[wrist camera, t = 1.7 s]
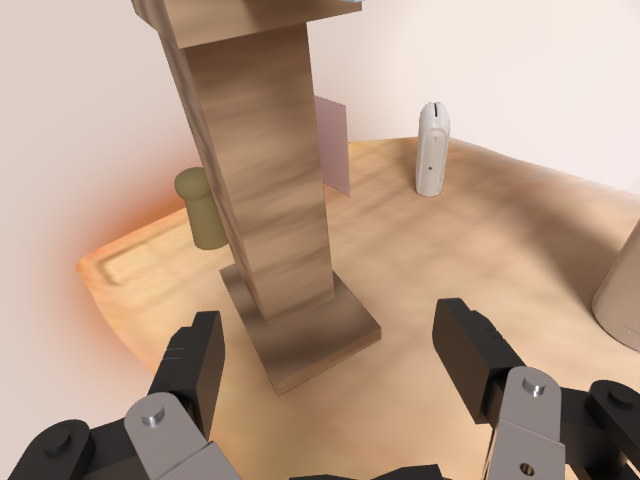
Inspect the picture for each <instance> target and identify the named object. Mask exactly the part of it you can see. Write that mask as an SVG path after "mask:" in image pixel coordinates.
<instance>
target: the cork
mask: <svg viewBox="0 0 640 480" xmlns="http://www.w3.org/2000/svg"><path fill="white" fill-rule="evenodd" d="M175 189H176V192H177V193H178V195H179V196H180V197H181V198H182V199H184V200H185V204H186V208H187V213H188V217H189V221H190V225H191V230H192V234H193V238H194V242H195V245H196V246H197V247H198V248H200V249H202V250H213V249H217V248H220V247H223V246H224V245H226V244H228V243H229V242H228V239H227V236H226V233H225V230H224V227H223V224H222V221H221V218H220V215H219V212H218V209H217V206H216V203H215V200H214V197H213V194H212V191H211V188H210V185H209V182H208V179H207V176H206V174H205V171H204V168H201V167H194V168H190V169H186V170H184V171H182V172H181V173H179V174H178V176H177V177H176V179H175Z"/></svg>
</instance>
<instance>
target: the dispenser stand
mask: <svg viewBox="0 0 640 480" xmlns="http://www.w3.org/2000/svg"><path fill="white" fill-rule="evenodd" d="M131 1H132V4H133V7H134V9H135V12H136V14H137V15H138V16H139V17H140V18H142V19H143V20H144V21H145V22H147V23H148V24H149V25H150V26H151V27H153V28H154V29H155V30H156V31H158V34H159V37H160V40H161V43H162V46H163V49H164V52H165V55H166V58H167V61H168V63H169V67H170V70H171V73H172V76H173V78H174V82H175V85H176V87H177V90H178V93H179V96H180V99H181V102H182V105H183V108H184V111H185V114H186V117H187V120H188V123H189V126H190V129H191V132H192V135H193V138H194V141H195V144H196V147H197V149H198V153H199V155H200V159H201V161H202V165H203V168H204V171H205V174H206V176H207V179H208V182H209V185H210V188H211V191H212V194H213V197H214V200H215V203H216V206H217V209H218V212H219V215H220V218H221V221H222V224H223V227H224V230H225V233H226V236H227V239H228V242H229V245H230V248H231V251H232V254H233V257H234V260H235V262H236V264H233V265H231V266H228V267H226V268H224V269H221V270H219V271H220V274H221V276H222V279H223V281H224V283H225V286H226V288H227V290H228V292H229V294H230V296H231V298H232V300H233V302H234V305H235V307H236V309H237V311H238V313H239V315H240V317H241V319H242V321H243V324H244V326H245V328H246V330H247V332H248V334H249V336H250V338H251V340H252V343H253V345H254V347H255V349H256V351H257V353H258V355H259V357H260V359H261V361H262V364H263V366H264V368H265V370H266V372H267V374H268V376H269V378H270V380H271V383H272V385H273V387H274V389H275V391H276V393H277V395H278V396H279V395H281V394H282V393H284V392H286V391H288V390H290V389H291V388H293V387H295V386H297V385H299V384H300V383H302V382H304V381H306V380H308V379H310V378H311V377H313V376H315V375H317V374H319V373H320V372H322V371H324V370H326V369H328V368H329V367H331V366H333V365H335V364H337V363H338V362H340V361H342V360H344V359H346V358H347V357H349V356H351V355H353V354H355V353H357V352H358V351H360V350H362V349H364V348H366V347H367V346H369V345H371V344H373V343H375V342H376V341H378V340H380V339H381V327H380V325H379V324H378V323H377V322H376V321H375V320H374V318H373V317H372V316H371V315H370V314H369V312H368V311H367V310H366V309H365V308H364V307H363V305H362V304H361V303H360V302H359V301H358V299H357V298H356V297H355V296H354V295H353V294H352V292H351V291H350V290H349V289H348V288H347V286H346V285H345V284H344V283H343V282H342V281H341V279H340V278H339V277H338V276H337V275H336V273H335V272H334V271H333V270H332V265H331V256H330V246H329V236H328V227H327V217H326V208H325V198H324V188H323V179H322V169H321V159H320V150H319V140H318V131H317V121H316V111H315V102H314V92H313V83H312V73H311V63H310V54H309V44H308V35H307V26H306V22H309V21H314V20H319V19H323V18H328V17H333V16H338V15H342V14H347V13H351V12H356V11H361V10H362V1H359V2H349V1H342V0H131Z"/></svg>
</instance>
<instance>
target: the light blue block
mask: <svg viewBox="0 0 640 480" xmlns="http://www.w3.org/2000/svg"><path fill="white" fill-rule="evenodd" d="M342 1H349V2H359V1H364V0H342Z"/></svg>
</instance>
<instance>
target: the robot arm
mask: <svg viewBox="0 0 640 480" xmlns="http://www.w3.org/2000/svg"><path fill="white" fill-rule="evenodd" d="M592 311H593V313H594V316H595V318H596V319H597V321H598V322H599V324H600V325H601V326H602V327H603V328H604V329H605V330H606V331H607V332H608V333H609V334H610V335H612V336H613V337H614V338H615V339H617V340H618V341H620V342H621V343H623V344H625V345H627V346H628V347H630V348H632V349H635V350H637V351H639V352H640V219H639V220H638V222H637V224H636V226H635V227H634V229H633V231H632V232H631V234H630V236H629V238H628V239H627V241H626V243H625V244H624V246H623V248H622V250H621V251H620V253H619V255H618V256H617V258H616V260H615V262H614V263H613V265H612V267H611V268H610V270H609V271H608V273H607V275H606V276H605V278H604V280H603V282H602V283H601V285H600V287H599V288H598V290H597V292H596V294H595V295H594V297H593V300H592ZM432 339H433V344H434V347H435V350H436V352H437V353H438V355H439V357H440V359H441V361H442V363H443V365H444V366H445V368H446V370H447V372H448V374H449V376H450V377H451V379H452V381H453V383H454V385H455V387H456V389H457V390H458V392H459V394H460V396H461V398H462V400H463V401H464V403H465V405H466V407H467V409H468V411H469V413H470V414H471V416H472V418H473V420H474V422H475V424H486V423H489V424H490V425H491V427H492V429H493V430H492V433H491V437H490V441H489V446H488V450H487V455H486V459H485V464H484V468H483V472H482V477H481V480H565V464H569V465H570V467H571V468H572V470H573V471H574V473H575V474H576V476H577V478H578V479H579V480H640V479H639V477H638V476H637V475H636V474H635V472H634V471H633V470H632V469H631V468H630V466H629V465H628V464H627V463H626V462H627V460H628V459H629V460H630V461H631V463H632V464H633V465H634V466H635V468H636V469H637V470H638V471H639V472H640V394H639V393H637V392H636V391H634V390H633V389H631V388H629V387H627V386H625V385H623V384H620V383H617V382H614V381H609V380H598V381H595V382H593V383H592V385H591V387H590V389H589V392H586V391H580V390H574V389H569V388H563V387H559V385H558V384H557V382H556V381H555V380H554V379H553V378H552V377H550V376H549V375H548V374H546V373H544V372H542V371H540V370H538V369H535V368H532V367H527V366H526V365H525V363H524V362H523V361H522V360H521V359H520V357H519V356H518V355H517V354H516V352H515V351H514V350H513V349H512V348H511V346H510V345H509V344H508V343H507V342H506V340H505V339H503V337H502V335H501V334H500V333H499V332H498V331H496V328H495V327H494V326H493V324H492V323H491V322H490V321H489V320H488V318H486V317H485V316H483V315H482V314H480V313H479V312H477V311H476V310H474V311H470V309H469V308H468V307H467V305H466V304H465V303H464V302H463V300H462V299H461V298H446V299H439V300H438V301H437V305H436V311H435V318H434V324H433V331H432ZM224 361H225V343H224V336H223V330H222V323H221V316H220V312H219V311H204V312H197V313H196V315H195V318H194V321H193V324H192V327H181V328H180V329H179V330H178V331H177V332H176V333H175V334H174V335H173V336H172V337H171V339H170V342H169V344H168V347H167V351H165V354H164V356H163V360H162V361H161V363H160V366H159V368H158V370H157V373H156V375H155V378H154V380H153V382H152V385H151V387H150V389H149V392H148V394H147V396H146V397H143V398H142V399H140V400H139V401H137V402H136V403H135V404H134V405H133V406H132V407H131V408H130V409H129V410H128V412H127V414H126V416H125V417H124V418H122V419H120V420H117V421H115V422H111V423H109V424H105V425H102V426H100V427H96V428H93V429H89V426H88V425H87V423H85V422H84V421H81V420H76V419H74V420H66V421H62V422H59V423H57V424H55V425H53V426H51V427H49V428H47V429H46V430H44V431H43V432H41V433H40V434H39V435H38V436H37V437H35V438H34V439H33V441H32V442H31V443H30V444H29V446H28V447H27V449H26V450H25V452H24V454H23V455H22V457H21V458H20V460H19V462H18V463H17V465H16V467H15V468H14V470H13V471H12V473H11V475H10V476H9V478H8V480H242V479H241V478H240V476H239V475H238V474H237V472H236V471H235V469H234V468H233V466H232V465H231V464H230V462H229V461H228V459H227V458H226V457H225V455H224V454H223V452H222V451H221V450H220V448H219V447H218V445H217V444H216V443H215V442H213V441H211V442H209V443H208V440H209V435H210V430H211V425H212V421H213V416H214V411H215V406H216V401H217V396H218V391H219V386H220V381H221V376H222V371H223V366H224ZM289 480H356V479H350V478H344V477H338V476H333V475H327V474H326V475H315V476H304V477H293V478H289ZM371 480H452V479H449V478H444V477H442V475H441V472H440V470H439V467H438V464H433V465H423V466H412V467H402V468H399V469H397V470H394V471H391V472H389V473H386V474H384V475H381V476H379V477H376V478H374V479H371Z"/></svg>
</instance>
